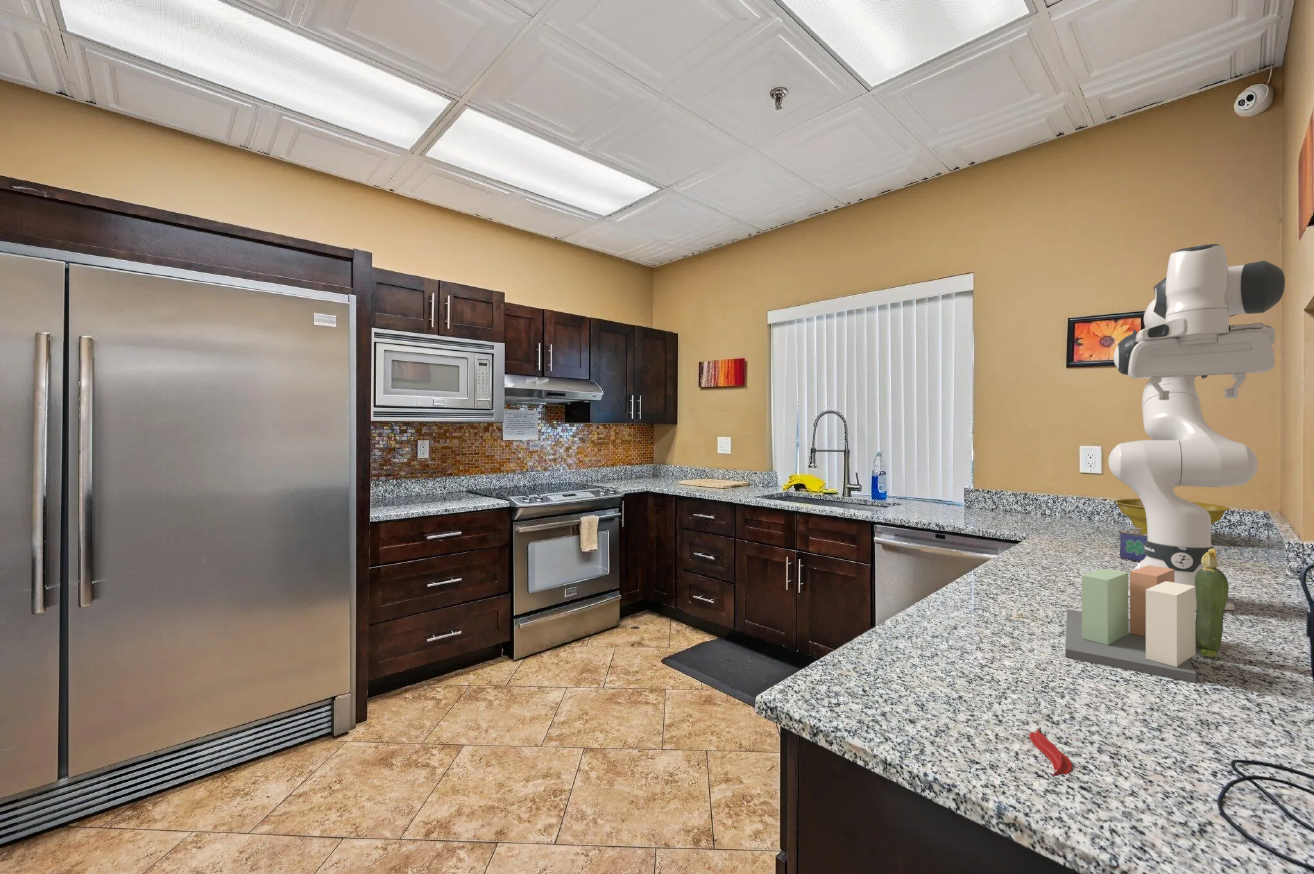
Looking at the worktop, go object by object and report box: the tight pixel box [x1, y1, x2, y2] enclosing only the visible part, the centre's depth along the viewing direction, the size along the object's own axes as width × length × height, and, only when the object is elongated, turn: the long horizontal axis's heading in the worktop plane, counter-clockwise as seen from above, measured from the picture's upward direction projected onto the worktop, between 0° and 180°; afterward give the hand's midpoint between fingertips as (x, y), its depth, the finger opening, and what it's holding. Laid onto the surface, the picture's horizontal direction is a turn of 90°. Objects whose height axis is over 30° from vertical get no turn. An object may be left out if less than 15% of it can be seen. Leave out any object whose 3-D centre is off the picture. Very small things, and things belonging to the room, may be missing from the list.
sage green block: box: [1081, 568, 1129, 645], centre depth 105 cm, size 4×10×12 cm, turn 122°
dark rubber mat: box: [1064, 609, 1197, 684], centre depth 105 cm, size 28×17×2 cm, turn 142°
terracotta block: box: [1129, 565, 1175, 637], centre depth 107 cm, size 4×10×12 cm, turn 122°
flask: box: [1119, 527, 1147, 563], centre depth 173 cm, size 9×3×11 cm, turn 25°
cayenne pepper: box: [1029, 728, 1073, 777], centre depth 70 cm, size 12×5×2 cm, turn 143°
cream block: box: [1146, 581, 1196, 667], centre depth 95 cm, size 4×10×12 cm, turn 122°
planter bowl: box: [1113, 498, 1230, 534], centre depth 210 cm, size 32×32×13 cm
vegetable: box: [1195, 547, 1230, 658], centre depth 99 cm, size 4×4×20 cm
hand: (1196, 399), depth 106 cm, fingers open, 8 cm apart
